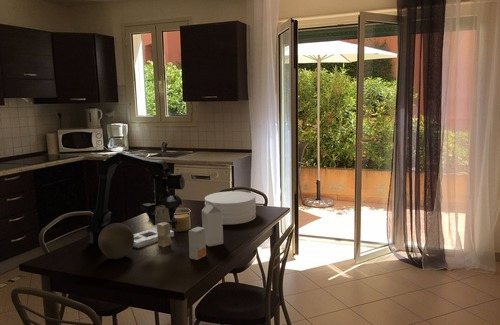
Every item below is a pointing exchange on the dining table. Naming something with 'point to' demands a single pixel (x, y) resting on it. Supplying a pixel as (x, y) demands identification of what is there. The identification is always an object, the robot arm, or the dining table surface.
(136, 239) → the white flat tray
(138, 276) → the dining table surface
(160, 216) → the ceramic cottage
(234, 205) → the plate stack
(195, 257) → the skincare box
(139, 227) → the dining table surface
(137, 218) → the dining table surface
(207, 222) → the milk carton
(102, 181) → the robot arm
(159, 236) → the wooden peg
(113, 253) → the cantaloupe
